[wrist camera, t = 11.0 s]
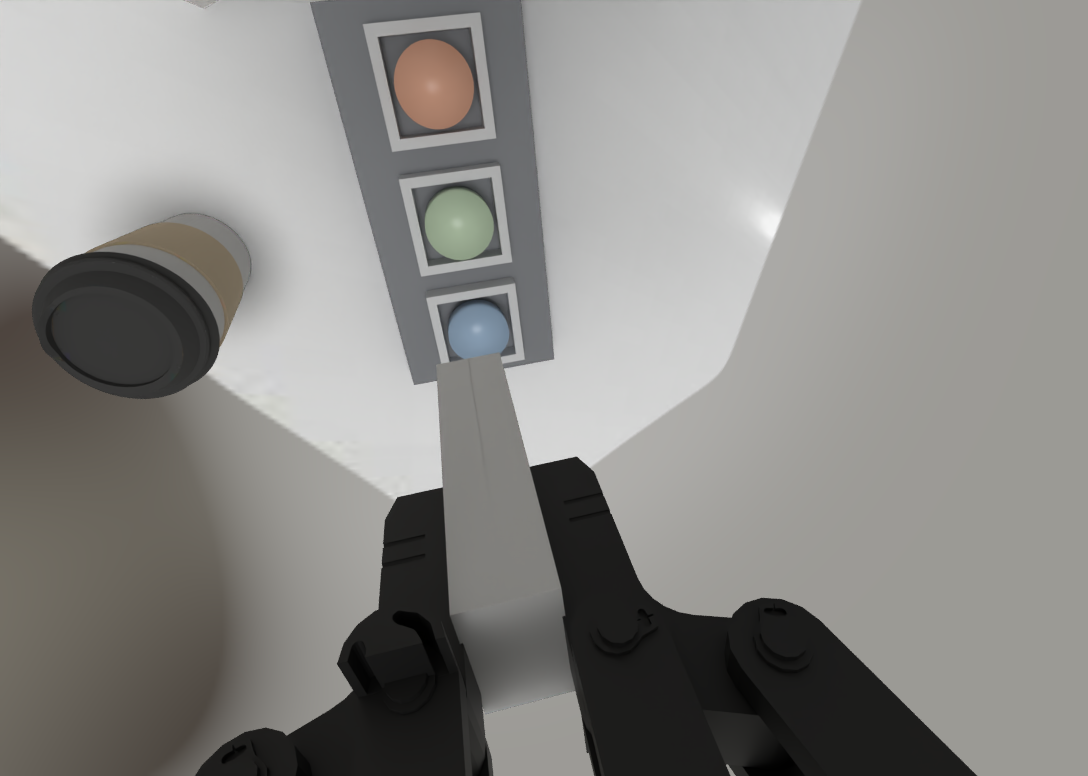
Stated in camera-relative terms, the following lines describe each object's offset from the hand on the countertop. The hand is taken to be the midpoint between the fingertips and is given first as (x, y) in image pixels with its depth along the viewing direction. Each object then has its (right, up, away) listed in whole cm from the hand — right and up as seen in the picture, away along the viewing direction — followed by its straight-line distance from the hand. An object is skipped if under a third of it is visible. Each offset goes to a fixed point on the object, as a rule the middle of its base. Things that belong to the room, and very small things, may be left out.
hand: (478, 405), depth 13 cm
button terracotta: (-6, +21, +22) cm, 31 cm away
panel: (-6, +15, +30) cm, 34 cm away
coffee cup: (-25, +11, +28) cm, 39 cm away
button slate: (-4, +6, +32) cm, 33 cm away
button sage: (-5, +13, +27) cm, 30 cm away
